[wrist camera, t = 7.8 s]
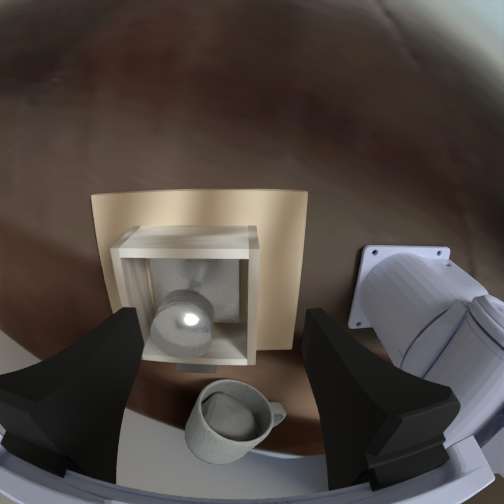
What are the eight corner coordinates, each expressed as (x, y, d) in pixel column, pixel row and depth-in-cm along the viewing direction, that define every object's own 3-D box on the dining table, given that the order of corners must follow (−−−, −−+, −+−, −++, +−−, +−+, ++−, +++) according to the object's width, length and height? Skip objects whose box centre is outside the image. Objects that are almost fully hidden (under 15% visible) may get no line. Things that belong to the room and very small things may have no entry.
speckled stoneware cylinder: (185, 411, 29) (178, 465, 22) (201, 370, 26) (194, 434, 19) (267, 426, 31) (273, 477, 24) (297, 389, 28) (309, 447, 21)
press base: (305, 190, 20) (324, 207, 15) (290, 345, 25) (298, 384, 20) (94, 194, 19) (59, 211, 15) (123, 339, 25) (106, 374, 20)
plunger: (239, 242, 20) (237, 288, 14) (239, 318, 23) (238, 377, 17) (149, 242, 20) (116, 285, 14) (160, 316, 23) (139, 370, 17)
